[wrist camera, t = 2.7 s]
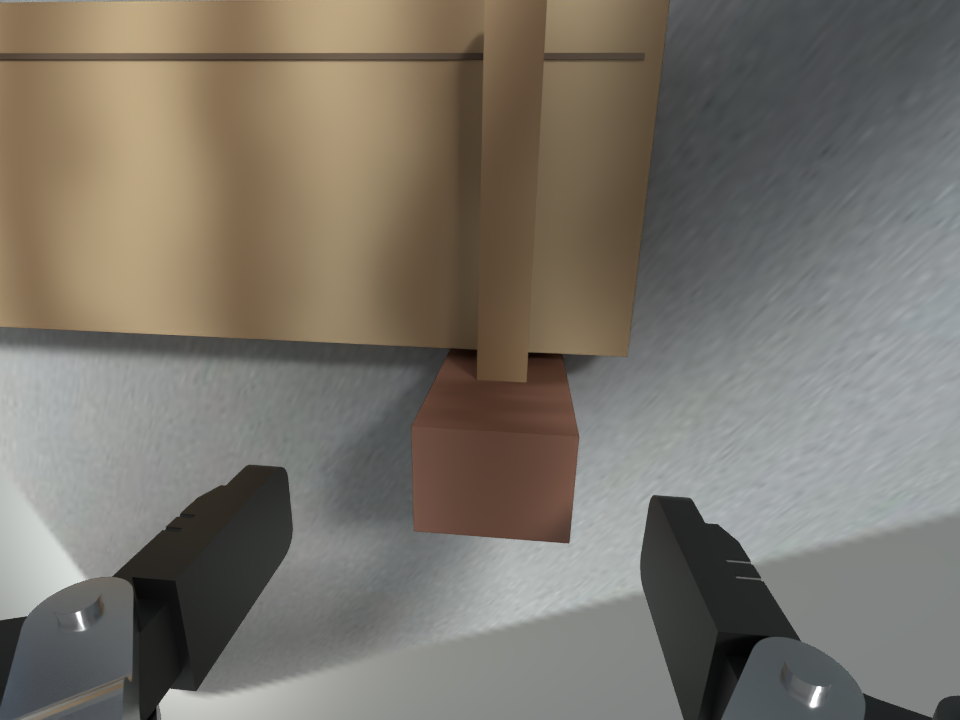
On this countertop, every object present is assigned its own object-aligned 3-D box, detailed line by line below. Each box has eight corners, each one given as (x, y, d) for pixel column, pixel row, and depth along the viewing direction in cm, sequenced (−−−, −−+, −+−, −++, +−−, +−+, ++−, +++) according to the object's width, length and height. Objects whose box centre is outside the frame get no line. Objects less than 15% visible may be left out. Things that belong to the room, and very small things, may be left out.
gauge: (585, 34, 15) (628, -89, 9) (554, 442, 20) (566, 569, 13) (454, 34, 16) (398, -83, 9) (452, 436, 20) (414, 556, 13)
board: (652, 20, 15) (671, -5, 13) (617, 339, 18) (627, 357, 16) (-69, 24, 17) (-146, 3, 15) (11, 312, 20) (-44, 324, 18)
